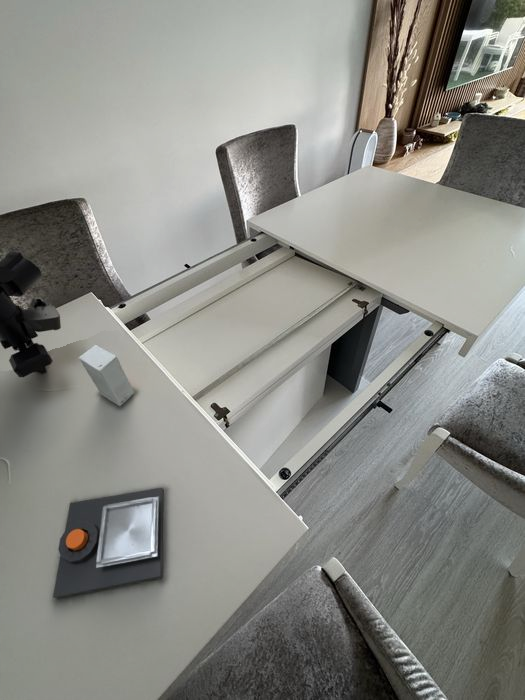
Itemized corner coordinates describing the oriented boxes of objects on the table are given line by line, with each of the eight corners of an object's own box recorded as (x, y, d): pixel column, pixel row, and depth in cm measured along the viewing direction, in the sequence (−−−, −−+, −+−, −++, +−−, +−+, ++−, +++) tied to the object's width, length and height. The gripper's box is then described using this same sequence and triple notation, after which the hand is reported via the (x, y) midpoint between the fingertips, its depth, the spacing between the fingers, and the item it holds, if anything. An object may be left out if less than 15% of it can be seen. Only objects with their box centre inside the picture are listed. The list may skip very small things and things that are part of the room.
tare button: (68, 552, 52) (63, 549, 50) (71, 533, 53) (67, 530, 52) (86, 548, 52) (82, 546, 51) (89, 530, 54) (85, 527, 52)
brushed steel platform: (96, 568, 50) (93, 567, 49) (104, 506, 55) (101, 504, 55) (157, 556, 51) (155, 555, 50) (159, 497, 56) (157, 494, 55)
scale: (57, 598, 50) (47, 596, 48) (73, 505, 58) (65, 499, 56) (162, 577, 52) (157, 574, 49) (163, 490, 60) (159, 483, 58)
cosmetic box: (135, 392, 73) (117, 356, 64) (120, 407, 71) (99, 371, 62) (115, 380, 75) (95, 343, 66) (100, 394, 73) (76, 358, 64)
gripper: (61, 320, 63) (92, 372, 75) (30, 272, 72) (62, 325, 84) (-6, 349, 58) (39, 400, 70) (-30, 294, 68) (13, 347, 79)
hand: (40, 365), depth 76 cm, fingers closed on egg, 5 cm apart
